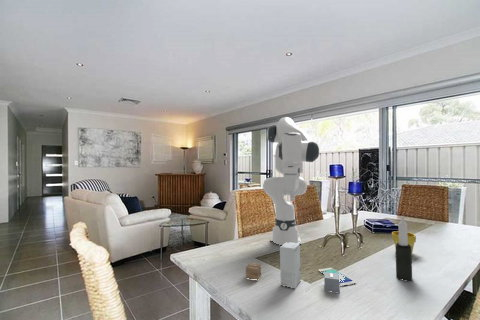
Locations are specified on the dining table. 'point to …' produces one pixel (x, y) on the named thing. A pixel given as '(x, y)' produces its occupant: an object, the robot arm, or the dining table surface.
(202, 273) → the dining table surface
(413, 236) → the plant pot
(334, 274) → the slate block
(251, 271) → the walnut block
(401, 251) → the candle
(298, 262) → the skincare box
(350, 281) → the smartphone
